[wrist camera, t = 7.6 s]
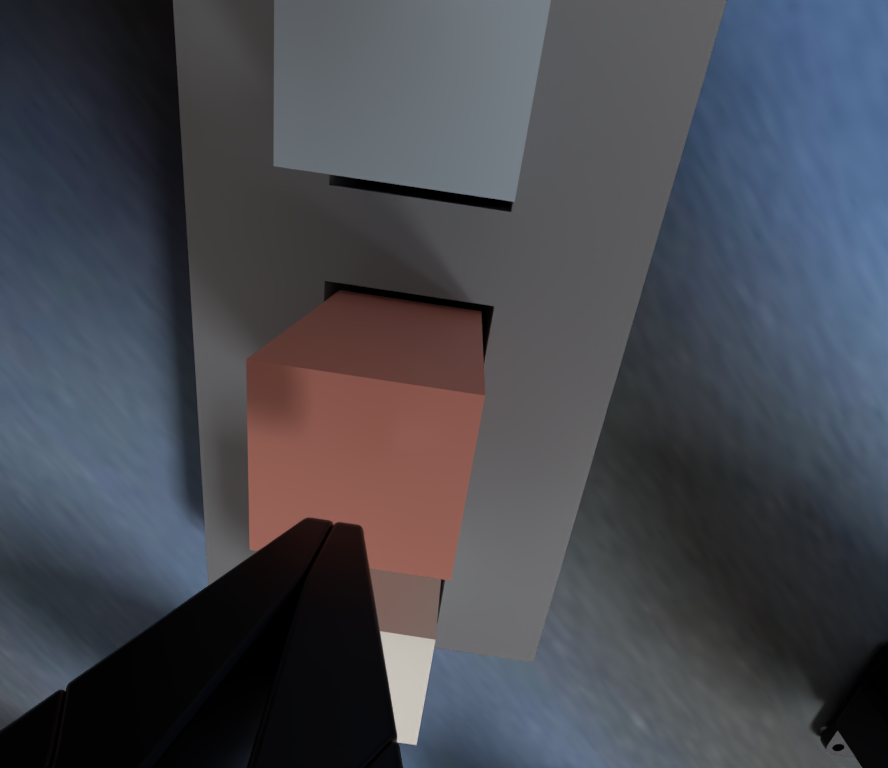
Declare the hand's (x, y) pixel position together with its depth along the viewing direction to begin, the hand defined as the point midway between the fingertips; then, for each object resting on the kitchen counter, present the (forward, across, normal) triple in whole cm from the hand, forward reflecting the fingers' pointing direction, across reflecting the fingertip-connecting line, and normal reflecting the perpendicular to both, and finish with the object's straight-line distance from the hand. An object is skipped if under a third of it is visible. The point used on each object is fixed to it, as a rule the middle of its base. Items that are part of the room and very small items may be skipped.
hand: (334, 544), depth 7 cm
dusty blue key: (+9, 0, -7) cm, 11 cm away
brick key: (+8, 0, 0) cm, 8 cm away
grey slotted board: (+10, 0, 0) cm, 10 cm away
